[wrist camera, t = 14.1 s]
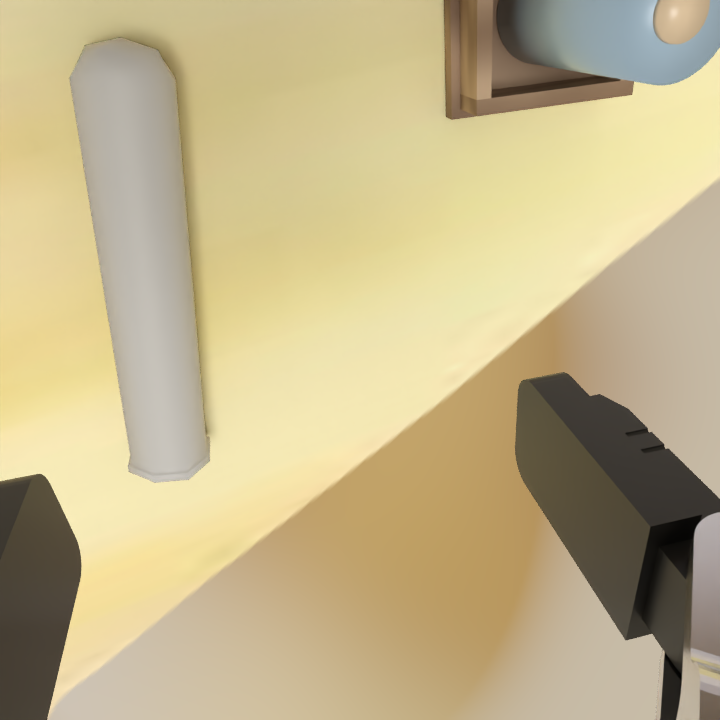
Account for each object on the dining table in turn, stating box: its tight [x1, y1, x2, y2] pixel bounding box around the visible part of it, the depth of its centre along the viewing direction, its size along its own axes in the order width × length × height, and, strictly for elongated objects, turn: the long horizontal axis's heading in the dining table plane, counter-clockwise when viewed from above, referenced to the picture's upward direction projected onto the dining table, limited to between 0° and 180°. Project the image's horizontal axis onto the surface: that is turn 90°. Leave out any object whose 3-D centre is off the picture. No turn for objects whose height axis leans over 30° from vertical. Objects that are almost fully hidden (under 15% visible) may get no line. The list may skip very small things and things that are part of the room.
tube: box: [70, 37, 210, 482], centre depth 35 cm, size 5×5×25 cm
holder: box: [444, 0, 634, 119], centre depth 32 cm, size 10×10×4 cm
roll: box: [497, 0, 720, 85], centre depth 28 cm, size 5×5×11 cm
